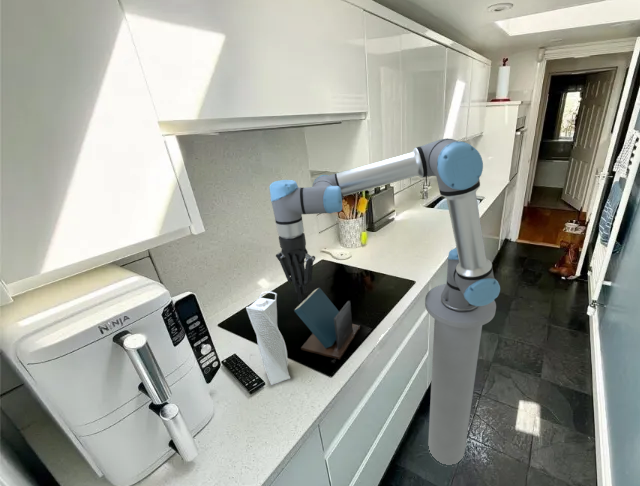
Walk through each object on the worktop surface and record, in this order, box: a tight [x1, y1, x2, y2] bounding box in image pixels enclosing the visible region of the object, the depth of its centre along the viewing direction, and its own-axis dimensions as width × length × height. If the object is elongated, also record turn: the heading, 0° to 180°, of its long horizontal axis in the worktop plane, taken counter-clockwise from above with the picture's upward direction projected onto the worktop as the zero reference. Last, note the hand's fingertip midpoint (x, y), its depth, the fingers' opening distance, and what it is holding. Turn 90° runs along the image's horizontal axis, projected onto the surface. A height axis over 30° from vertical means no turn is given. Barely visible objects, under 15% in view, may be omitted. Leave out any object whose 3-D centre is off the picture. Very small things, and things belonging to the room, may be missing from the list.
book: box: [293, 287, 340, 348], centre depth 101 cm, size 3×12×16 cm
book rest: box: [300, 300, 361, 360], centre depth 101 cm, size 14×16×13 cm
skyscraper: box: [245, 290, 291, 386], centre depth 84 cm, size 8×8×28 cm
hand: (303, 300), depth 101 cm, fingers closed
